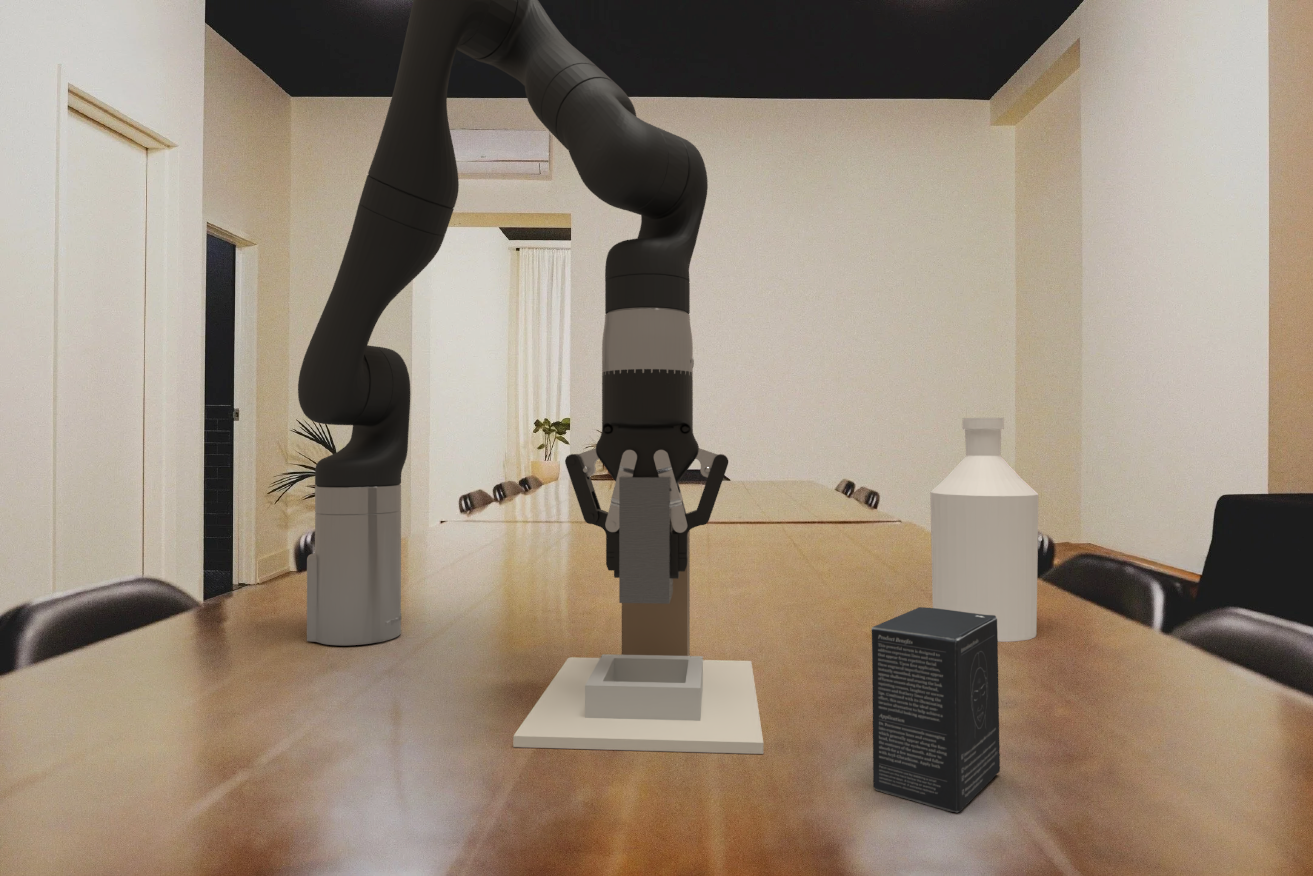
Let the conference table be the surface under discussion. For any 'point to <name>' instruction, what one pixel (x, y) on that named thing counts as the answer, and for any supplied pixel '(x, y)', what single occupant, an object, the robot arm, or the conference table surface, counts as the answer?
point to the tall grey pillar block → (644, 540)
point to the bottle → (986, 536)
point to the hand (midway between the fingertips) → (647, 575)
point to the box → (935, 706)
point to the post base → (649, 692)
